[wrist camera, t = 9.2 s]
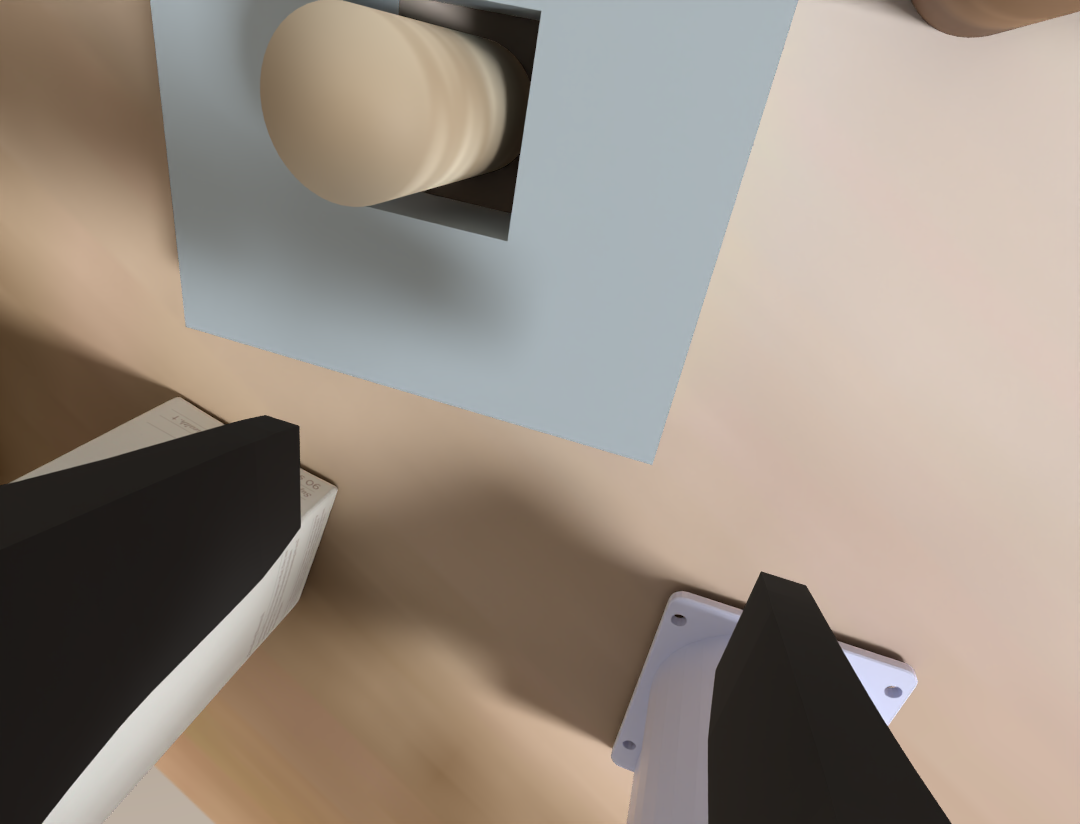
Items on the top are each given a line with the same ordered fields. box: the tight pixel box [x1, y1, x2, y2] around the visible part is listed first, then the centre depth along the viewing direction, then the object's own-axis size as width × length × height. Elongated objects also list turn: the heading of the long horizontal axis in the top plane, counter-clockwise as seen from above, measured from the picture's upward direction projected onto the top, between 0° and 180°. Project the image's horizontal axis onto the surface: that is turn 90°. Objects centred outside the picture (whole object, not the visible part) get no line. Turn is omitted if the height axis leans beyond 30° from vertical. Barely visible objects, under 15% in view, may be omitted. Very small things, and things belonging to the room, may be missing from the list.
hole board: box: [150, 0, 798, 465], centre depth 15 cm, size 14×14×3 cm
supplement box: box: [10, 397, 338, 824], centre depth 20 cm, size 7×7×13 cm
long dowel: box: [260, 0, 531, 207], centre depth 13 cm, size 3×3×6 cm
